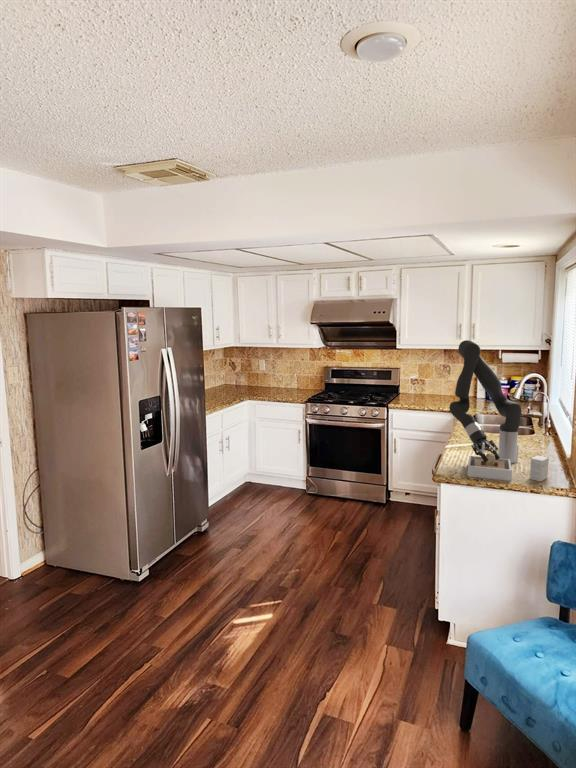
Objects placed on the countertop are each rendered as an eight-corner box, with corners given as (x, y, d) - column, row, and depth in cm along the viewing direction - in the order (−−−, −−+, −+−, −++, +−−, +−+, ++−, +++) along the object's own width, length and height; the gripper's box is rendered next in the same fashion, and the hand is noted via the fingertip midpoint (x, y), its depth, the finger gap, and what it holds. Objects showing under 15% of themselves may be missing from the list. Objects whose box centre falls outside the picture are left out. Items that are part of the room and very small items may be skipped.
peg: (489, 470, 265) (489, 453, 264) (495, 472, 262) (496, 455, 261) (483, 471, 263) (484, 454, 262) (490, 473, 260) (491, 456, 259)
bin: (468, 465, 275) (469, 455, 274) (509, 469, 268) (510, 459, 267) (467, 476, 257) (468, 465, 256) (511, 481, 250) (511, 470, 249)
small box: (535, 475, 259) (537, 455, 257) (547, 478, 255) (548, 457, 253) (529, 479, 253) (530, 458, 252) (540, 481, 249) (542, 460, 248)
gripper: (470, 430, 263) (487, 458, 254) (489, 427, 270) (506, 454, 261) (461, 438, 268) (478, 465, 260) (480, 435, 275) (497, 461, 267)
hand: (492, 460), depth 261 cm, fingers open, 8 cm apart
